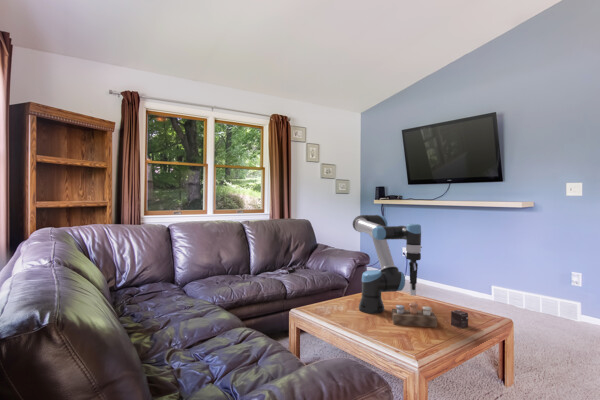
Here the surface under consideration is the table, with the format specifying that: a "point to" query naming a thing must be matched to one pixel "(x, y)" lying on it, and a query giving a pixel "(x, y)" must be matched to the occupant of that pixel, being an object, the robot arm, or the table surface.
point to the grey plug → (400, 309)
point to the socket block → (414, 318)
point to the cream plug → (426, 310)
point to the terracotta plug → (413, 308)
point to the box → (459, 319)
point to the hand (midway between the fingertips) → (413, 295)
